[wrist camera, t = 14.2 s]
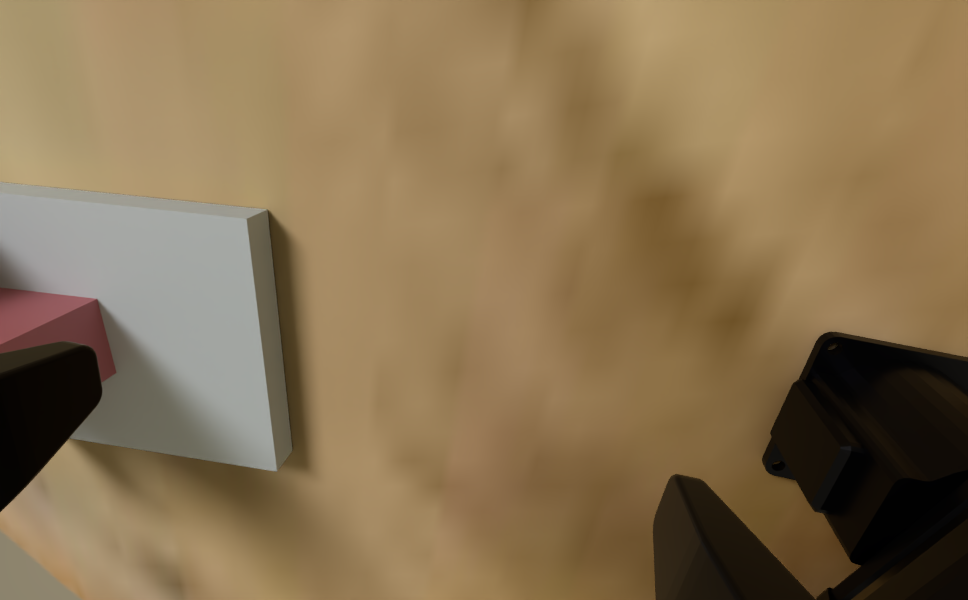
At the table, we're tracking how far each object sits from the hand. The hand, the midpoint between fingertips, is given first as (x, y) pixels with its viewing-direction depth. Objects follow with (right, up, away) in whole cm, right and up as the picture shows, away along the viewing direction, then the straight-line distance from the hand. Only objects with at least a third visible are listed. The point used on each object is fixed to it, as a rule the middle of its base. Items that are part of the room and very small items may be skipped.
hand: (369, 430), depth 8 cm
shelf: (-14, +1, +16) cm, 22 cm away
